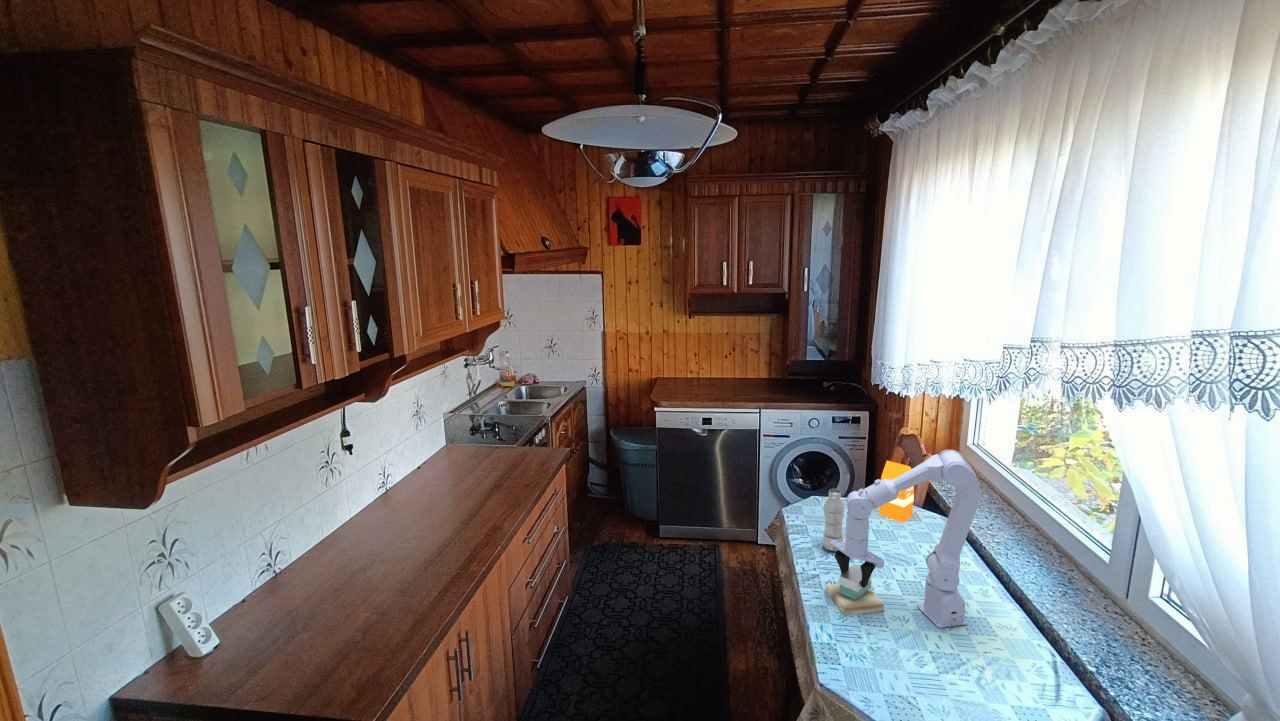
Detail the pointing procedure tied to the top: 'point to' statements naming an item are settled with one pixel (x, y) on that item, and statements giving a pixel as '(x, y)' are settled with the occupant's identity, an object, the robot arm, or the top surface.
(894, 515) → the orange juice
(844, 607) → the stand
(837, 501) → the plastic bottle
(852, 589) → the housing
